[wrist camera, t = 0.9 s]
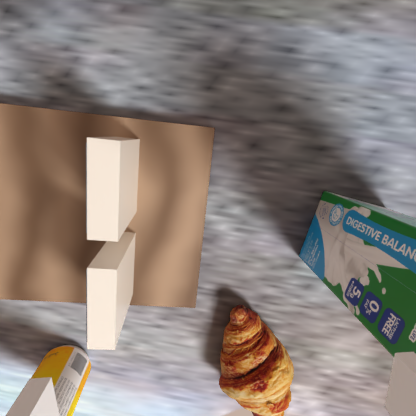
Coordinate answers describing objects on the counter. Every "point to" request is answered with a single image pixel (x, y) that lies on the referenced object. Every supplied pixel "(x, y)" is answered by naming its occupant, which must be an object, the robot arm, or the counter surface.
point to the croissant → (255, 365)
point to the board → (76, 205)
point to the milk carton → (367, 265)
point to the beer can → (65, 375)
